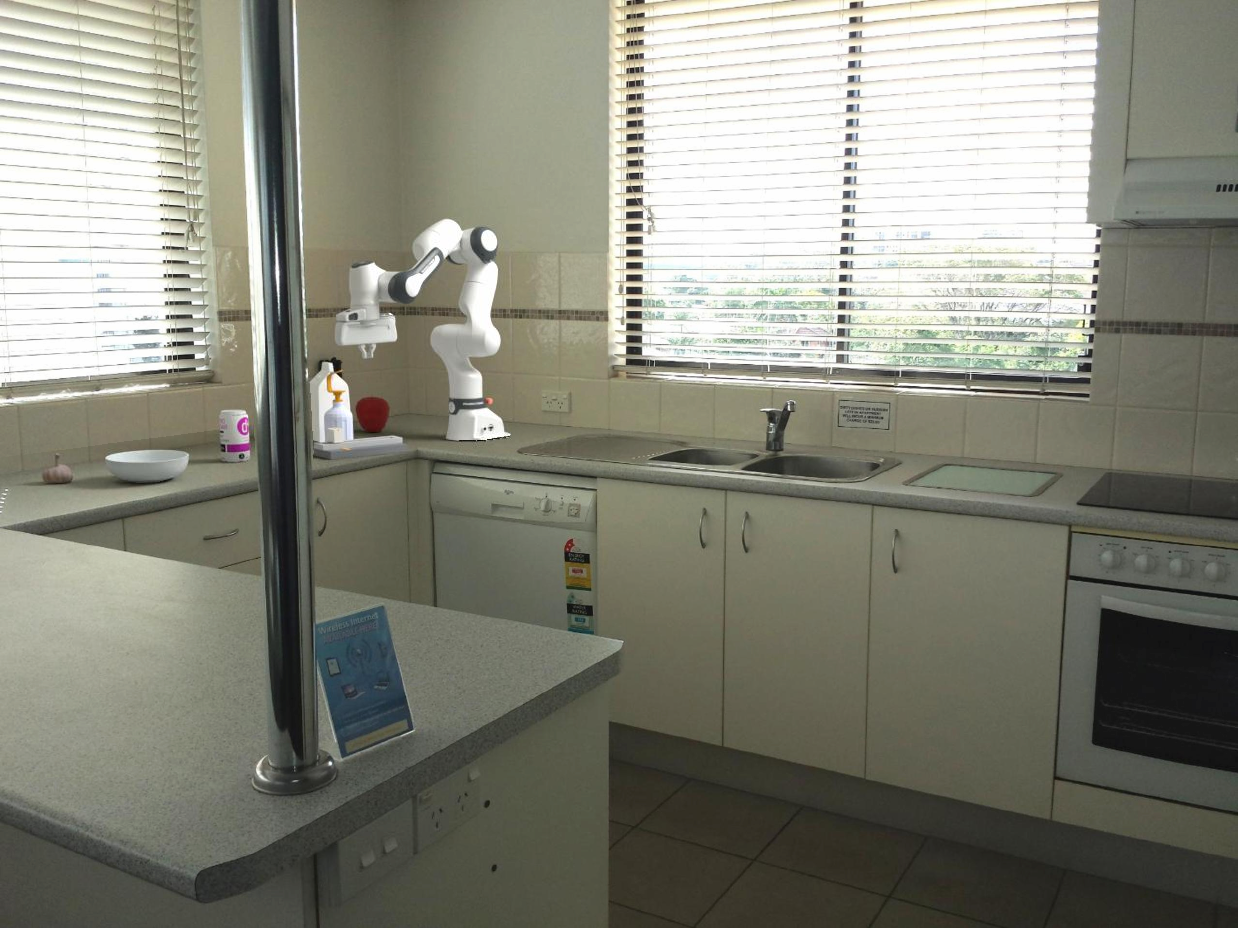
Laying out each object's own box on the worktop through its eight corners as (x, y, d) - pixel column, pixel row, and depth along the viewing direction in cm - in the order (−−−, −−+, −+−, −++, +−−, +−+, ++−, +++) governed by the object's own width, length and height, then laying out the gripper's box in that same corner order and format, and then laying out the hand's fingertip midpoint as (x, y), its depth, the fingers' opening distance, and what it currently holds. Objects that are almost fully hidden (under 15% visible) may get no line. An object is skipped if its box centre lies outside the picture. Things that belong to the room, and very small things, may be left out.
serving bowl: (106, 489, 292) (104, 463, 291) (107, 476, 311) (105, 452, 310) (192, 484, 300) (190, 458, 299) (187, 472, 319) (186, 448, 318)
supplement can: (255, 459, 341) (253, 410, 339) (238, 463, 334) (235, 413, 331) (233, 457, 344) (230, 408, 342) (215, 462, 336) (212, 411, 334)
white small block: (336, 445, 352) (335, 427, 351) (343, 447, 348) (343, 428, 348) (327, 446, 350) (326, 428, 349) (334, 448, 347) (334, 429, 346)
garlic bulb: (78, 483, 302) (76, 453, 300) (49, 486, 296) (47, 456, 295) (66, 479, 306) (63, 450, 305) (37, 483, 301) (35, 453, 300)
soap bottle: (349, 447, 367) (347, 371, 364) (321, 446, 368) (318, 371, 364) (356, 443, 376) (354, 369, 372) (329, 442, 376) (326, 369, 373)
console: (387, 446, 369) (387, 434, 368) (409, 451, 358) (408, 439, 358) (309, 454, 352) (308, 441, 351) (329, 459, 341) (328, 446, 340)
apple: (349, 432, 403) (347, 395, 400) (373, 429, 412) (372, 392, 410) (372, 435, 396) (371, 397, 394) (397, 431, 405) (396, 394, 403)
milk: (352, 439, 384) (350, 363, 380) (319, 442, 378) (316, 364, 374) (340, 435, 394) (337, 361, 390) (307, 438, 388) (304, 362, 383)
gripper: (389, 312, 364) (391, 355, 366) (331, 315, 350) (333, 359, 353) (399, 312, 359) (401, 356, 361) (340, 316, 346) (343, 361, 348)
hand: (367, 358), depth 357 cm, fingers closed
